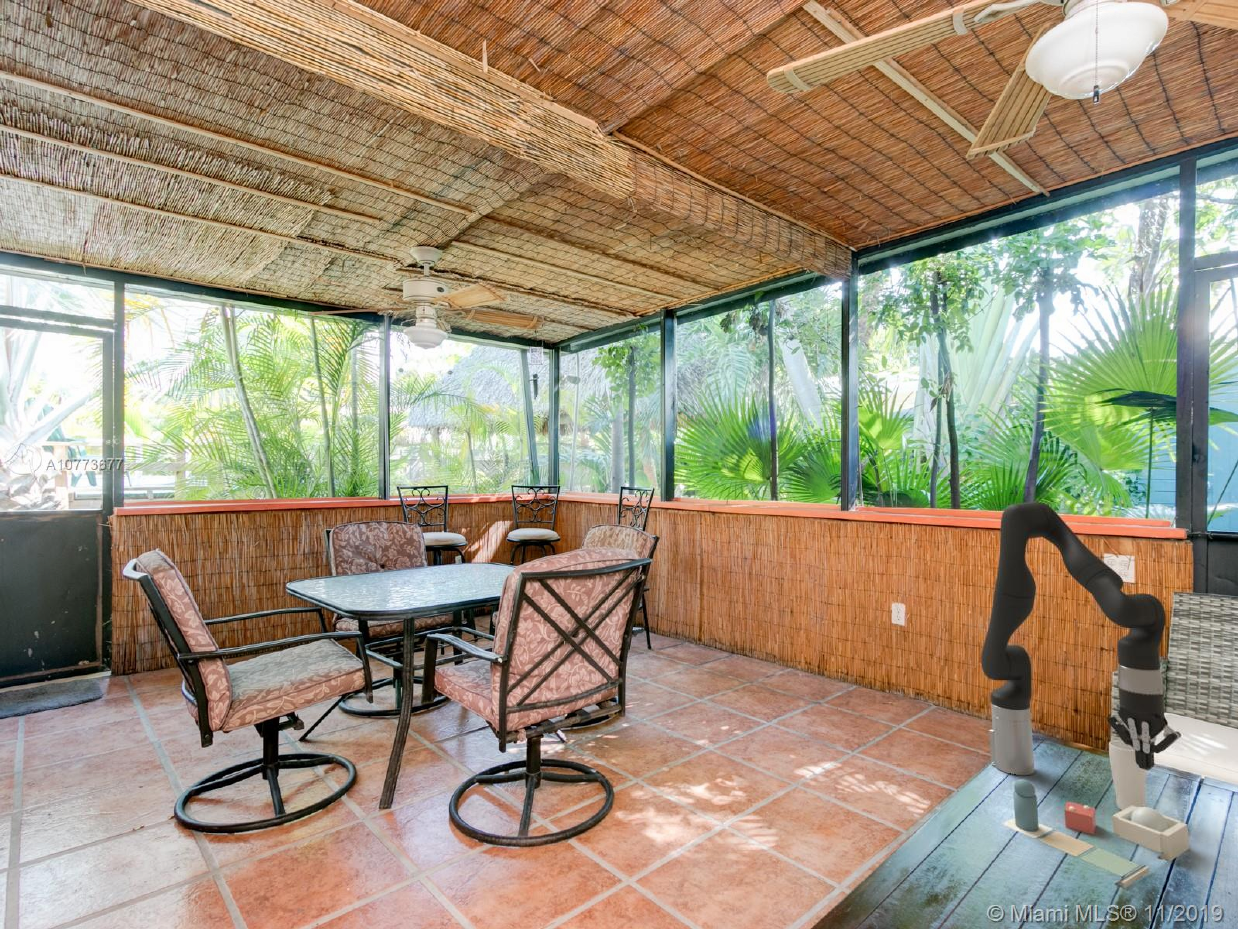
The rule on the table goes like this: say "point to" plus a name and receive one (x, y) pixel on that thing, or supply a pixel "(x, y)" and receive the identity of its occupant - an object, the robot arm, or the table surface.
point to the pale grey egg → (1149, 818)
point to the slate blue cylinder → (1025, 806)
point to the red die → (1080, 817)
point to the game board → (1095, 857)
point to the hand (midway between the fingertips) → (1145, 768)
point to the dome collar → (1153, 834)
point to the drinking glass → (1127, 775)
